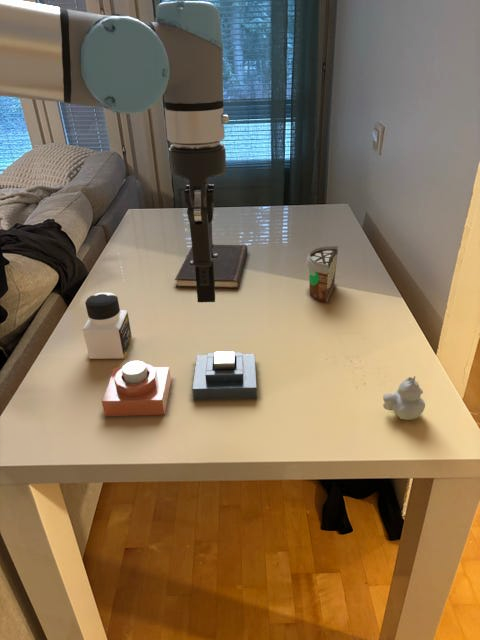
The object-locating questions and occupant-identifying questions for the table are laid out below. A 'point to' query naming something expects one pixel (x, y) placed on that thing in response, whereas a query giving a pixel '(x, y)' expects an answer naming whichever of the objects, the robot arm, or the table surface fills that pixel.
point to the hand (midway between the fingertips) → (206, 299)
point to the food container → (322, 271)
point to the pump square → (224, 361)
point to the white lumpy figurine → (406, 400)
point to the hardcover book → (217, 267)
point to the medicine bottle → (106, 327)
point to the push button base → (225, 378)
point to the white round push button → (134, 372)
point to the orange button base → (137, 393)
